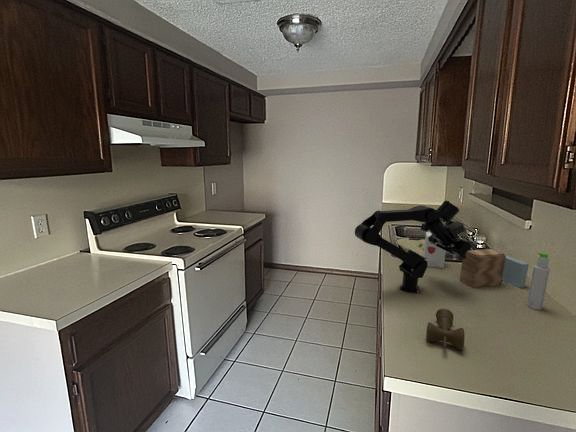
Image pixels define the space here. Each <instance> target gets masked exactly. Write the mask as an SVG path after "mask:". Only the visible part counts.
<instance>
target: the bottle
mask: <svg viewBox="0 0 576 432" xmlns="http://www.w3.org/2000/svg"><path fill="white" fill-rule="evenodd" d="M536 254H537V255H538V256H537V260H536V264H535V265H533V269H532V274H531V281H530V284H529V285H530V286H529V292H528V298H527V303H526V306H527V307H528V308H529V309H530V308H531V309H533V310H539V311H541V310H543V306H544V302H545V294H546V289H547V285H548V281H549V275H550V267H549V263H550V258H549V253H546V252H536Z"/></svg>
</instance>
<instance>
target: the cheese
mask: <svg viewBox="0 0 576 432" xmlns="http://www.w3.org/2000/svg"><path fill="white" fill-rule="evenodd" d="M409 238H410V237H405V238H404V237H402V238H400V239H397V240H395V242H396V244H398V245H399V246H400V247H401V249H402V250H404V251H405V252H408V250H409V249H410V250H412V251H414V252H416V253H418V254H419V255H421V256H423V254H424V245H425V238H424V239H419V240H413V239H411V240H410V239H409Z"/></svg>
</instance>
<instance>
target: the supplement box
mask: <svg viewBox="0 0 576 432" xmlns="http://www.w3.org/2000/svg"><path fill="white" fill-rule="evenodd" d="M431 235H432V234H431V233H430V231H427V232H425V238H424V239H425V245H424V254H423V257H425V258H426V259H424V260H426V261H427V262H428V263H427V264H428V265H427V267H432V268H440V269H444V267H445V260H446V252H447V251H446V250H443V249H441V248H439V247H437V246H436V244H435V245H433V244H431V243H430V242H429V241H428V238H429V237H430V236H431Z"/></svg>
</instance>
